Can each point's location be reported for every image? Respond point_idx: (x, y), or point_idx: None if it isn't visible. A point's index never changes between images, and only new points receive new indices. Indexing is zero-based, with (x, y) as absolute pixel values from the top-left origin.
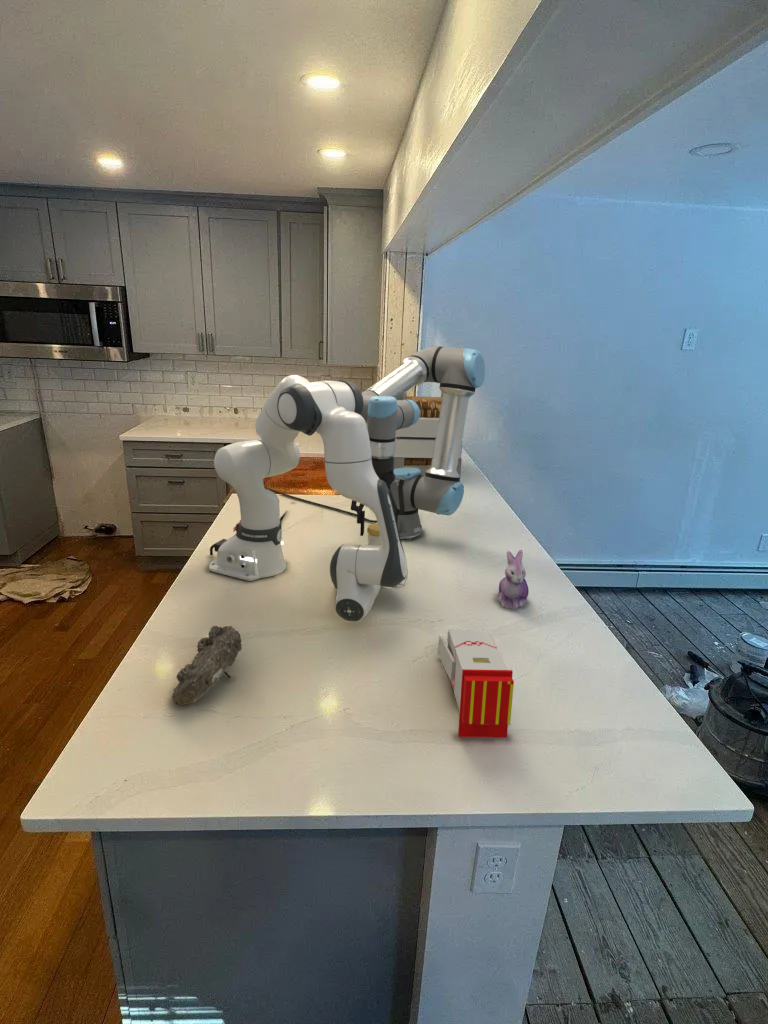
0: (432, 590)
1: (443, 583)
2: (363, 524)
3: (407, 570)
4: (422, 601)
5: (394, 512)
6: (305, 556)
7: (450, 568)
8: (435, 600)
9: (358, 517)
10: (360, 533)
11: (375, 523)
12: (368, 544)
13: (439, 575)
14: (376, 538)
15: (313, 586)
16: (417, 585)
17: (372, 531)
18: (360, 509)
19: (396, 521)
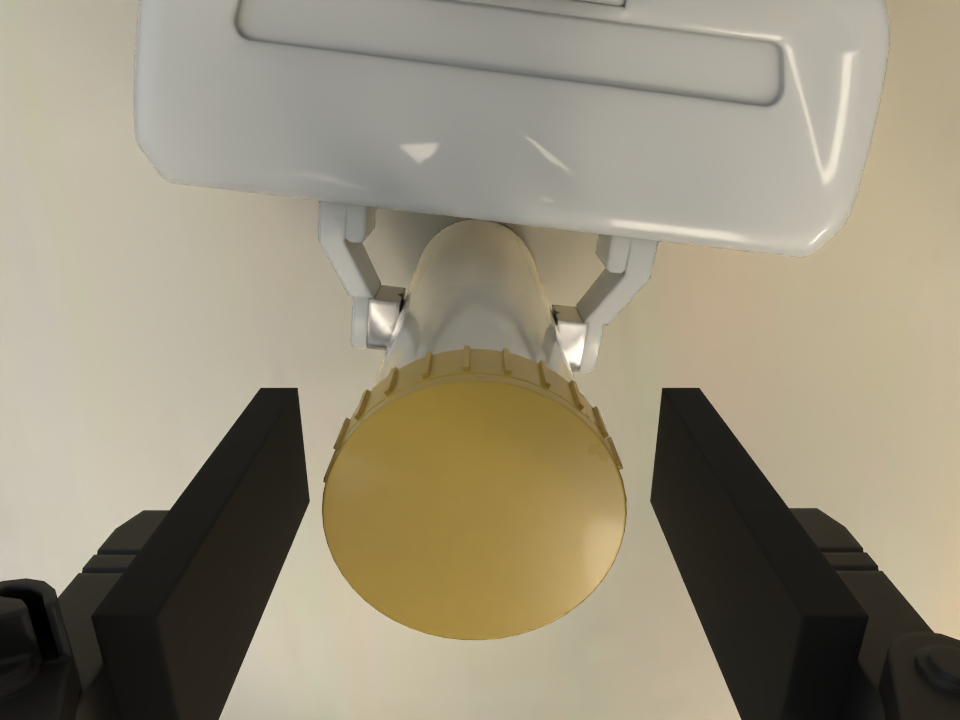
0: (69, 238)
1: (21, 352)
2: (711, 492)
3: (135, 114)
4: (101, 53)
5: (17, 704)
6: (954, 563)
7: (28, 556)
8: (13, 86)
9: (860, 581)
10: (707, 401)
11: (517, 633)
12: (567, 358)
13: (73, 456)
14: (470, 344)
15: (909, 152)
16: (185, 294)
17: (538, 383)
18: (949, 715)
19: (101, 566)
